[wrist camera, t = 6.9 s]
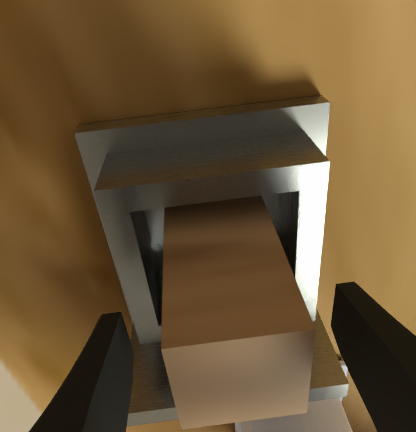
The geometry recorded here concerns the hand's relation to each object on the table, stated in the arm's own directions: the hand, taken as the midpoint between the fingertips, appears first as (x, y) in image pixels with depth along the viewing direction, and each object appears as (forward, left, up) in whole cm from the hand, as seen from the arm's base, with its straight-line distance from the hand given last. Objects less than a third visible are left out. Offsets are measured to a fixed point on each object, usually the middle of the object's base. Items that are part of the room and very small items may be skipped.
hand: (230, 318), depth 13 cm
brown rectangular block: (0, 0, -6) cm, 6 cm away
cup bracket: (0, 0, -7) cm, 7 cm away
